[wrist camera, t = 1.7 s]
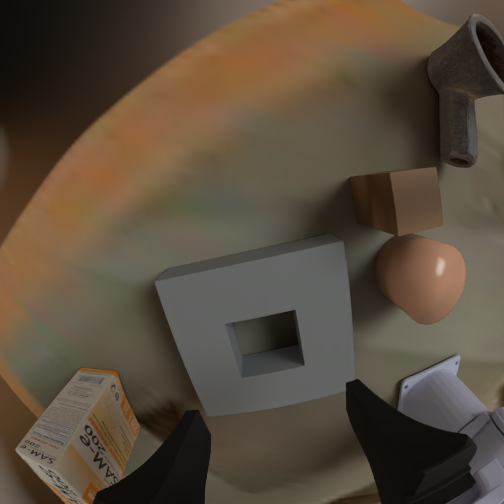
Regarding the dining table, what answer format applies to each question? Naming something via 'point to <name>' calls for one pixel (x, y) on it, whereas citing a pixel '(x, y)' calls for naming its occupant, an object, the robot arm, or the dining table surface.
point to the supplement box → (82, 437)
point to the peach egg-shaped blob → (420, 276)
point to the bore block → (258, 305)
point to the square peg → (398, 200)
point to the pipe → (465, 85)
